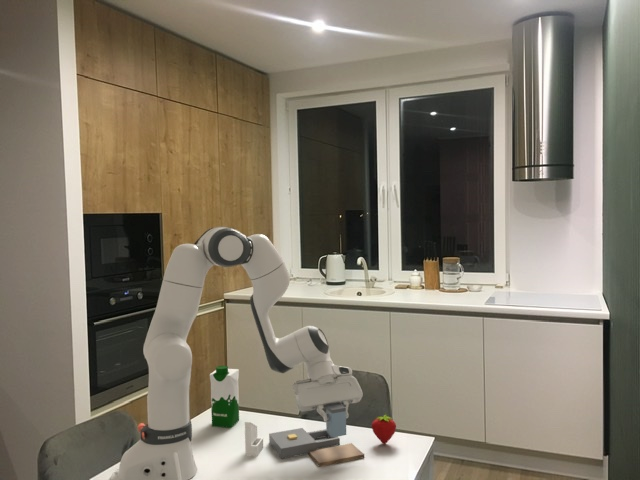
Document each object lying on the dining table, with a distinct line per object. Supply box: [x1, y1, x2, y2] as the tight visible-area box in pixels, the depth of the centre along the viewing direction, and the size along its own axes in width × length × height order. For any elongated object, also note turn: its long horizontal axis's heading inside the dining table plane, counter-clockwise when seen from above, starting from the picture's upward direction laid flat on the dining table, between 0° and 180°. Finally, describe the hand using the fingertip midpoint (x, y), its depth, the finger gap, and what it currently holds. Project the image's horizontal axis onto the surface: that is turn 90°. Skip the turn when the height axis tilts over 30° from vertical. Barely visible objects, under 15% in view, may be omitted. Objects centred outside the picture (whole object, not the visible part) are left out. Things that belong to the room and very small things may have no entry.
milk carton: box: [209, 365, 240, 429], centre depth 183 cm, size 9×9×20 cm
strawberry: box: [371, 413, 397, 445], centre depth 165 cm, size 6×8×10 cm
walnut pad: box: [308, 442, 365, 467], centre depth 157 cm, size 14×8×1 cm, turn 112°
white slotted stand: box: [244, 421, 264, 457], centre depth 160 cm, size 4×10×9 cm, turn 168°
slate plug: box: [325, 403, 347, 438], centre depth 157 cm, size 4×4×8 cm
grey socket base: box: [268, 427, 341, 460], centre depth 165 cm, size 19×12×4 cm, turn 112°
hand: (336, 419), depth 156 cm, fingers closed on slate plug, 4 cm apart
